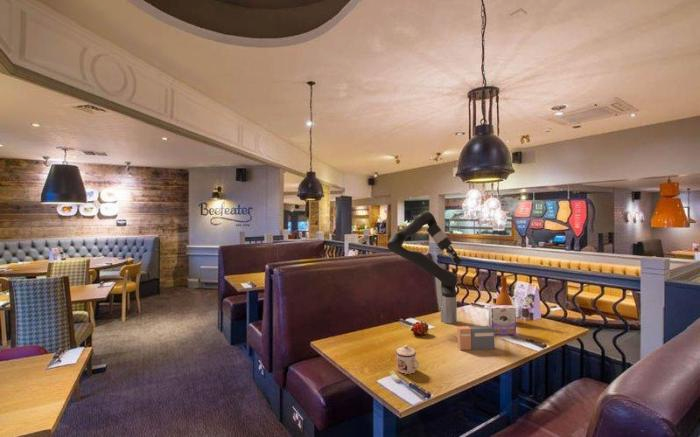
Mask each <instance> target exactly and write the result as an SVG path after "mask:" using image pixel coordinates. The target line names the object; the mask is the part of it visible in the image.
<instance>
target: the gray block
mask: <svg viewBox="0 0 700 437" xmlns="http://www.w3.org/2000/svg"><path fill="white" fill-rule="evenodd" d="M469 327H470V328H471V351H479V350H481V351H482V350H495V349H496V348H495V342H496V341H495V335H494V328H493V327H492V326H489V325H482V326H480V325H479V326H474V325H473V326H469Z"/></svg>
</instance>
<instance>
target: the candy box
mask: <svg viewBox="0 0 700 437" xmlns="http://www.w3.org/2000/svg"><path fill="white" fill-rule="evenodd" d="M516 311H517V309H516V307H515V306H514V305H513V304H512V305H496V304H494V305H493V304H492V305H491V304H490V305H488V326H492V327H493V328H494V336H517V323H516V322H517V319H516V318H517V316H516V315H517V314H516Z"/></svg>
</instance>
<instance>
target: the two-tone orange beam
mask: <svg viewBox="0 0 700 437" xmlns="http://www.w3.org/2000/svg"><path fill="white" fill-rule="evenodd" d="M470 327H471V326H467V325H466V326H463V325H462V326H456V329H457V330H456V334H457V337H456V339H457V341H456V342H457V348H458V349H459V351H463V350H464V351H465V350H467V351H468V350H471V328H470ZM471 351H472V350H471Z"/></svg>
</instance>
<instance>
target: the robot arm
mask: <svg viewBox="0 0 700 437" xmlns="http://www.w3.org/2000/svg"><path fill="white" fill-rule="evenodd" d="M425 225H427V226H428V227H427V233H428V235H430V236H431V238H432V239H433V241H434V243H435V245H437V247H438V248H439V249H440V251H444V250H445V252H446V254H447V255H448V257H449V258H450V259H451V260H452V261H453V262H454V263H455V264H456V265H457V266H458V265H460V264H461V263H462V262H463V261H462V260H461V258H460V257H459V255H458V252H457V251H456V250H455V249H454V247H453V246H452V244H453V243H452V240H450V238H449V237H448V236H447V234H446V233H445V232H444V231H443V230H442V229H441V228H440V226H439V225H438V222H437V221H436V218H435V217H434V215H433V214H432V213H431V212H429V211H425V212H421V213H420V214H418V215H417V216H416V217H415V218H414V219H413V221H411V222H410V223H409V224H408V225H406V226H405V227H404V228H403V229H402V230H399V231H398V232H396V233H394V234H393V235H392V236H390V237H389V240H388V241H387V243H386V247H387V249H388V250H389V251H391V252H392V253H394V254H396V255H398V256H399V257H402V258H403V259H404V260H407V261H408V262H410V263H412V264H413V265H414V266H416V267H417V268H418V269H421V271H424V272H426V273H428V274H429V275H432V277H435V278H436V280H439V281H440V285H441V286H440V290H441V307H440V321H441V322H442V323H445V324H447V325H448V324H449V325H454V324H457V323H458V320H457V319H458V318H457V317H458V315H457V304H458V303H457V290H456V289H457V288H456V285H457V283H458V277H457V275H456V274H455V273H453V271H451V270H446V269H444V268H443V267H441V266H440V265H438V264H437V263H436V262H435V261H434V260H433V259H432V258H430V257H429V256H427V255H426V254H424V253H423V252H420V251H413V250H409V249H406V248H405V247H403V244H404V242H405V241H406V240H407V239H408V238H409V237H411V236H414V235H415V234H417V233H418V232H420V231H421V229H422V228H423V227H424V226H425Z"/></svg>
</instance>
